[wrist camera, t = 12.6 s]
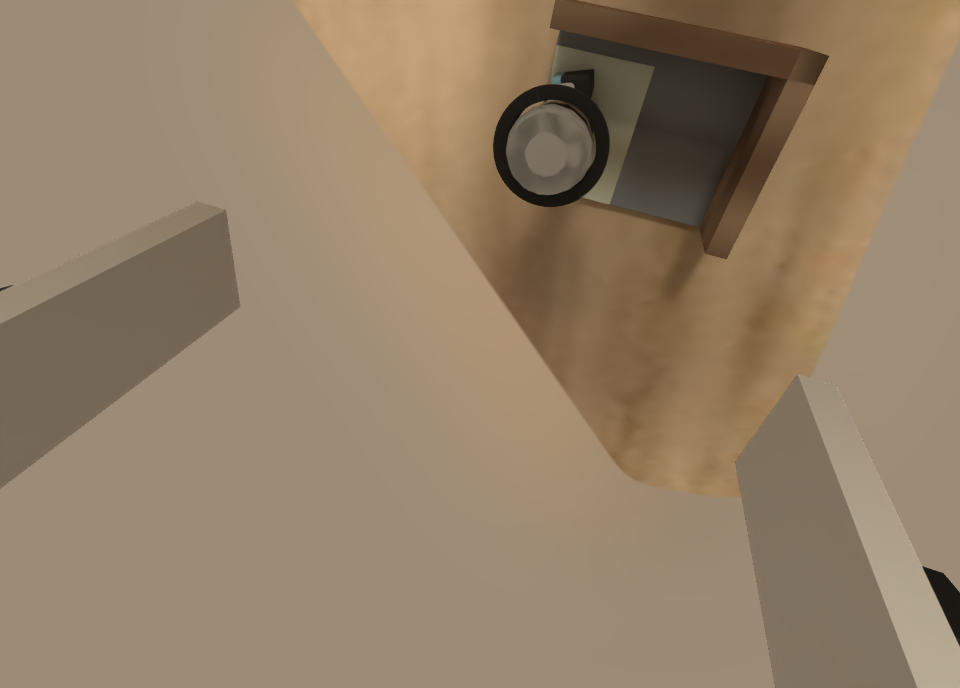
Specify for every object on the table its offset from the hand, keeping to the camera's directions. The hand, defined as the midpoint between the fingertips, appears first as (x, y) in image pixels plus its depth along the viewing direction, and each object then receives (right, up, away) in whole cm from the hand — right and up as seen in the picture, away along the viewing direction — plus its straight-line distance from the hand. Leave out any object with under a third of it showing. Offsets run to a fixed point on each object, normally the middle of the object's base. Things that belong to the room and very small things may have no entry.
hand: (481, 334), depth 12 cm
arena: (+10, +13, +18) cm, 24 cm away
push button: (+6, +13, +19) cm, 24 cm away
